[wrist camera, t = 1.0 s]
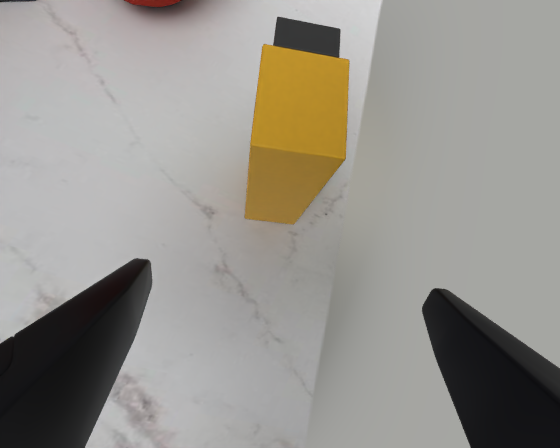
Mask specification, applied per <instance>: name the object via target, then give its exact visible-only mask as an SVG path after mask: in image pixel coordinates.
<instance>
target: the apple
mask: <svg viewBox="0 0 560 448" xmlns="http://www.w3.org/2000/svg"><path fill="white" fill-rule="evenodd" d="M124 1H127V2H129V3H131V4H135V5H143V6H152V7H162V6H168V5H172V4H175V3H177V2H179V1H182V0H124Z"/></svg>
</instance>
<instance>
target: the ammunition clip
mask: <svg viewBox="0 0 560 448" xmlns="http://www.w3.org/2000/svg"><path fill="white" fill-rule="evenodd" d="M11 1H36V0H0V2H11Z"/></svg>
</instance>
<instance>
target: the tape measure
mask: <svg viewBox="0 0 560 448" xmlns="http://www.w3.org/2000/svg"><path fill="white" fill-rule="evenodd" d="M339 49H340V29H338V28H333V27H328V26H323V25H318V24H313V23H308V22H302V21H297V20H292V19H287V18H282V17H277V22H276V29H275V36H274V43H273V46H272V45H267V44H264V45H263V46H262V54H261V62H260V70H259V78H258V86H257V94H256V102H255V110H254V118H253V126H252V135H251V143H250V155H249V168H248V181H247V194H246V207H245V219H253V220H261V221H270V222H278V223H286V224H295V222H296V221H297V220H298V219H299V217H300V216H301V215H302V213H303V212H304V211H305V210H306V208H307V207H308V206H309V205H310V203H311V202H312V201H313V200H314V198H315V197H316V196H317V194H318V193H319V192H320V191H321V189H322V188H323V187H324V186H325V184H326V183H327V182H328V180H329V179H330V178H331V177H332V175H333V174H334V173H335V172H336V170H337V169H338V168H339V167H340V165H341V164H342V163H343V161H344V160H345V159H346V138H347V111H348V84H349V60H348V59H343V58H339Z"/></svg>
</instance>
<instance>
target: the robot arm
mask: <svg viewBox="0 0 560 448" xmlns="http://www.w3.org/2000/svg"><path fill="white" fill-rule="evenodd" d="M151 287H152V271H151V263H150V261H149V260H148V259H138V258H136V259H133V260H131V261H130V262H128V263H127V264H125V265H124V266H122V267H120V268H119V269H117V270H116V271H114V272H113V273H111V274H109V275H108V276H106V277H105V278H103V279H102V280H100V281H98V282H97V283H95V284H94V285H92V286H90V287H89V288H87V289H86V290H84V291H83V292H81V293H79V294H78V295H76V296H75V297H73V298H72V299H70V300H68V301H67V302H65V303H64V304H62V305H61V306H59V307H57V308H56V309H54V310H53V311H51V312H49V313H48V314H46V315H45V316H43V317H42V318H40V319H38V320H37V321H35V322H34V323H32V324H31V325H29V326H27V327H26V328H24V329H23V330H21V331H19V332H18V333H16V334H15V336H14V337H10V338H8V339H7V340H5V341H4V342H2V343H0V448H85V446H86V444H87V441H88V439H89V437H90V435H91V433H92V431H93V428H94V426H95V424H96V422H97V420H98V417H99V415H100V413H101V411H102V409H103V406H104V404H105V402H106V400H107V398H108V395H109V393H110V391H111V389H112V387H113V385H114V382H115V380H116V378H117V376H118V374H119V371H120V369H121V367H122V365H123V363H124V360H125V358H126V356H127V354H128V352H129V349H130V347H131V345H132V343H133V341H134V338H135V336H136V333H137V330H138V327H139V324H140V321H141V318H142V315H143V312H144V309H145V306H146V303H147V300H148V297H149V293H150V290H151ZM422 312H423V316H424V320H425V323H426V327H427V330H428V334H429V337H430V341H431V344H432V348H433V351H434V354H435V357H436V360H437V363H438V366H439V368H440V370H441V373H442V376H443V378H444V381H445V383H446V386H447V388H448V391H449V393H450V396H451V398H452V401H453V404H454V406H455V409H456V411H457V414H458V416H459V419H460V421H461V424H462V426H463V429H464V431H465V434H466V437H467V439H468V442H469V444H470V447H471V448H560V368H558V367H557V366H556V365H554V364H553V363H551V362H550V361H548V360H547V359H545V358H544V357H543V356H541V355H540V354H538V353H537V352H535V351H534V350H533V349H531V348H530V347H528V346H527V345H526V344H524V343H523V342H521V341H520V340H518V339H517V338H516V337H514V336H513V335H511V334H510V333H508V332H507V331H506V330H504V329H502V328H501V327H500V326H498V325H497V324H496V323H494V322H493V321H491V320H489V319H488V318H487V317H486V316H484V315H483V314H481V313H480V312H478V311H477V310H476V309H474V308H472V307H471V306H470V305H468V304H467V303H465V302H464V301H463V300H461V299H460V298H458V297H457V296H456V295H454V294H453V293H451V292H450V291H448V290H446V289H439V288H435V289H433V290H432V291H431V292H430V294H429V296H428V297H427V299H426V301H425V303H424V304H423V307H422Z"/></svg>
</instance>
